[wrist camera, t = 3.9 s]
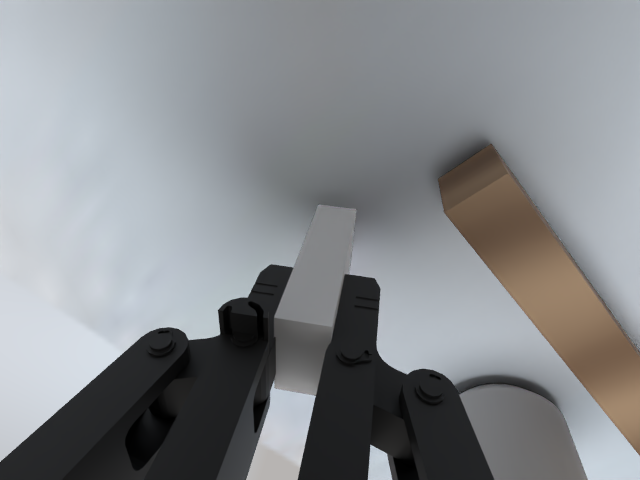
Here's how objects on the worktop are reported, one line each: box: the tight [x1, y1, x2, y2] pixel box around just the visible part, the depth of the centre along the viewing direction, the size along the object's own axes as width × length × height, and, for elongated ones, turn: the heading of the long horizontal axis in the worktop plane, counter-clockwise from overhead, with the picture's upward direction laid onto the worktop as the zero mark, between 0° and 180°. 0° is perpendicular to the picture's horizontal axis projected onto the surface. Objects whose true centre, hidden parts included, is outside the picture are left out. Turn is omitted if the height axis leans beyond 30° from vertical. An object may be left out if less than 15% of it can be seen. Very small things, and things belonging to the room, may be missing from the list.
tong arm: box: [438, 144, 640, 455], centre depth 16 cm, size 16×2×3 cm, turn 42°
